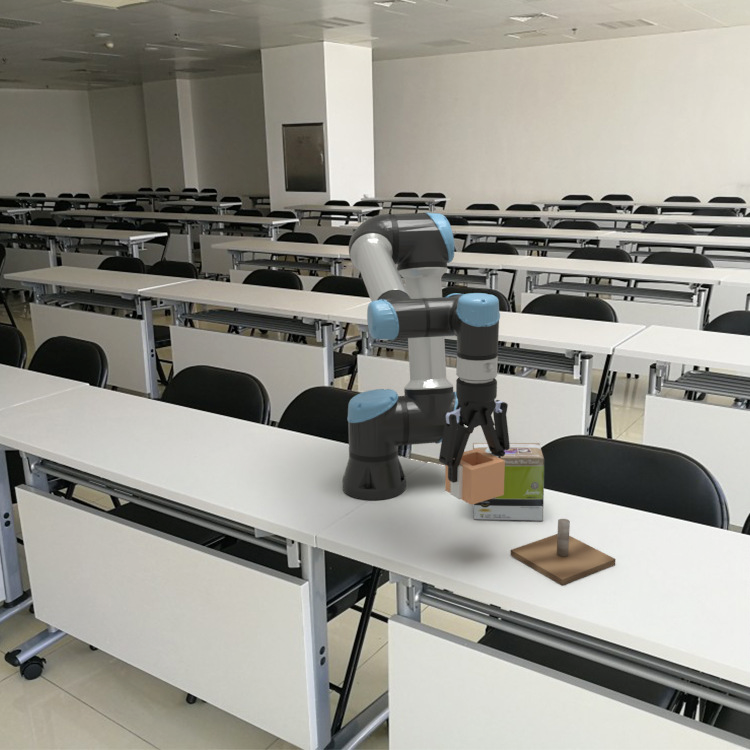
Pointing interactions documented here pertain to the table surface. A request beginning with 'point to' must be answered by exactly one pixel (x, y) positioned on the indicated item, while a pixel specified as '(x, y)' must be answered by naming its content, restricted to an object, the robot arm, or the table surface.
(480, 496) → the collar
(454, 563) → the table surface
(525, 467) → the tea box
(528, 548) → the post board
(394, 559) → the table surface
